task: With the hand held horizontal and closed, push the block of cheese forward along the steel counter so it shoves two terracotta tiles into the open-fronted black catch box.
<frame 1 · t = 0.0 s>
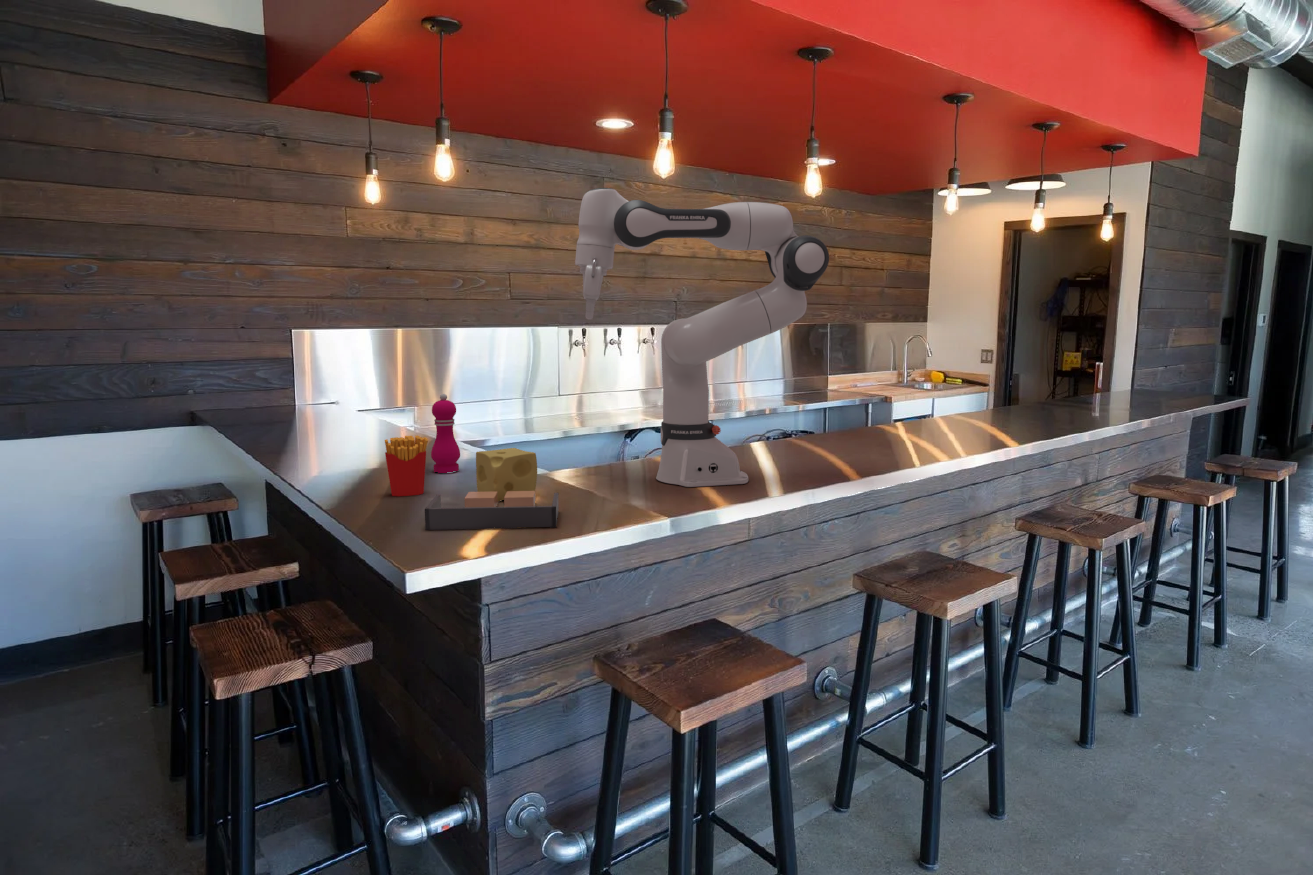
hand: (589, 319, 187), 39 cm above the table, tool pointing down, fingers open, 8 cm apart
pepper mill: (446, 472, 204), on the table
french fries: (408, 494, 179), on the table
tile 1: (481, 508, 167), on the table
tile 2: (520, 508, 167), on the table
catch box: (494, 520, 156), on the table
cheese: (506, 496, 178), on the table
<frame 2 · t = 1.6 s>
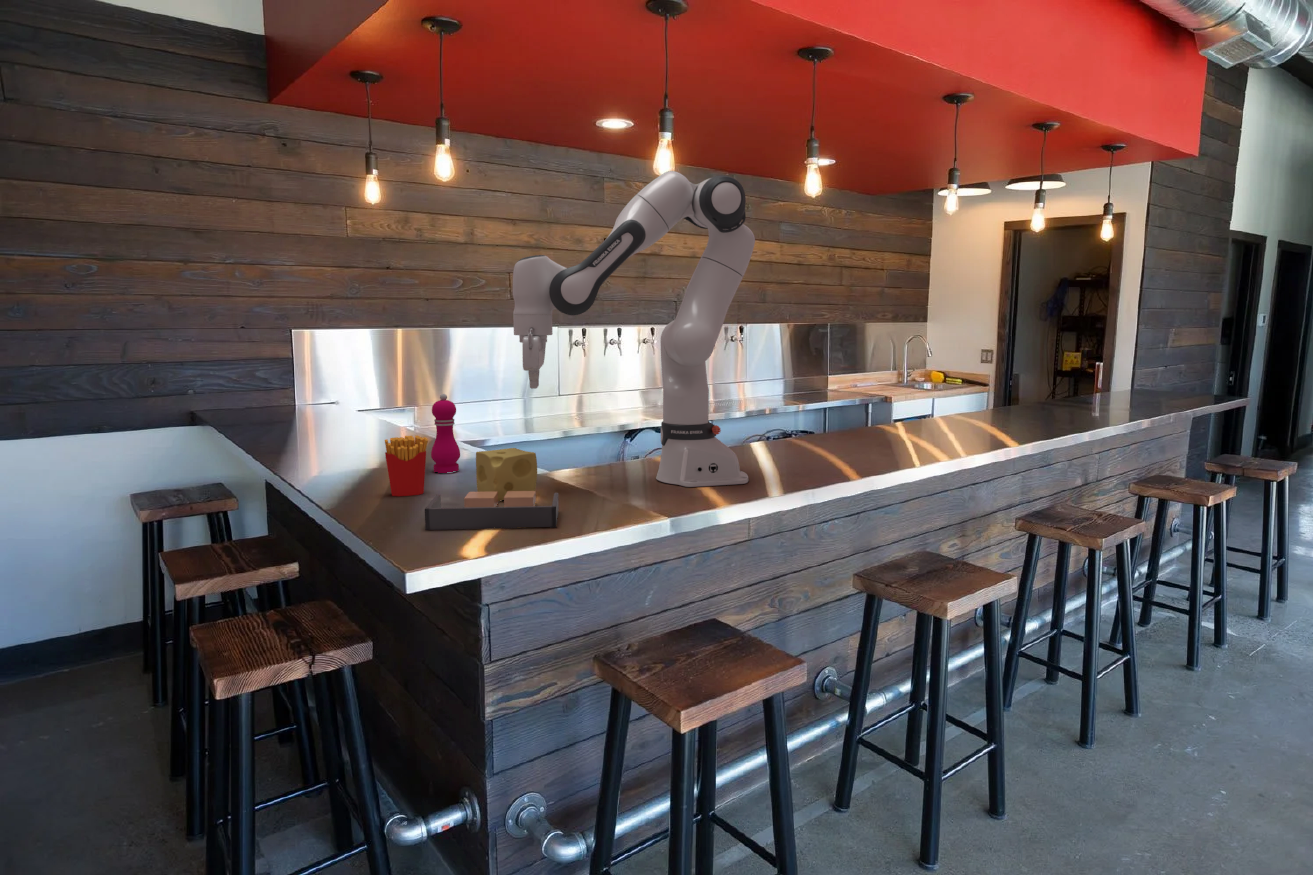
hand: (534, 387, 184), 23 cm above the table, tool pointing down, fingers closed
nothing on the table moved.
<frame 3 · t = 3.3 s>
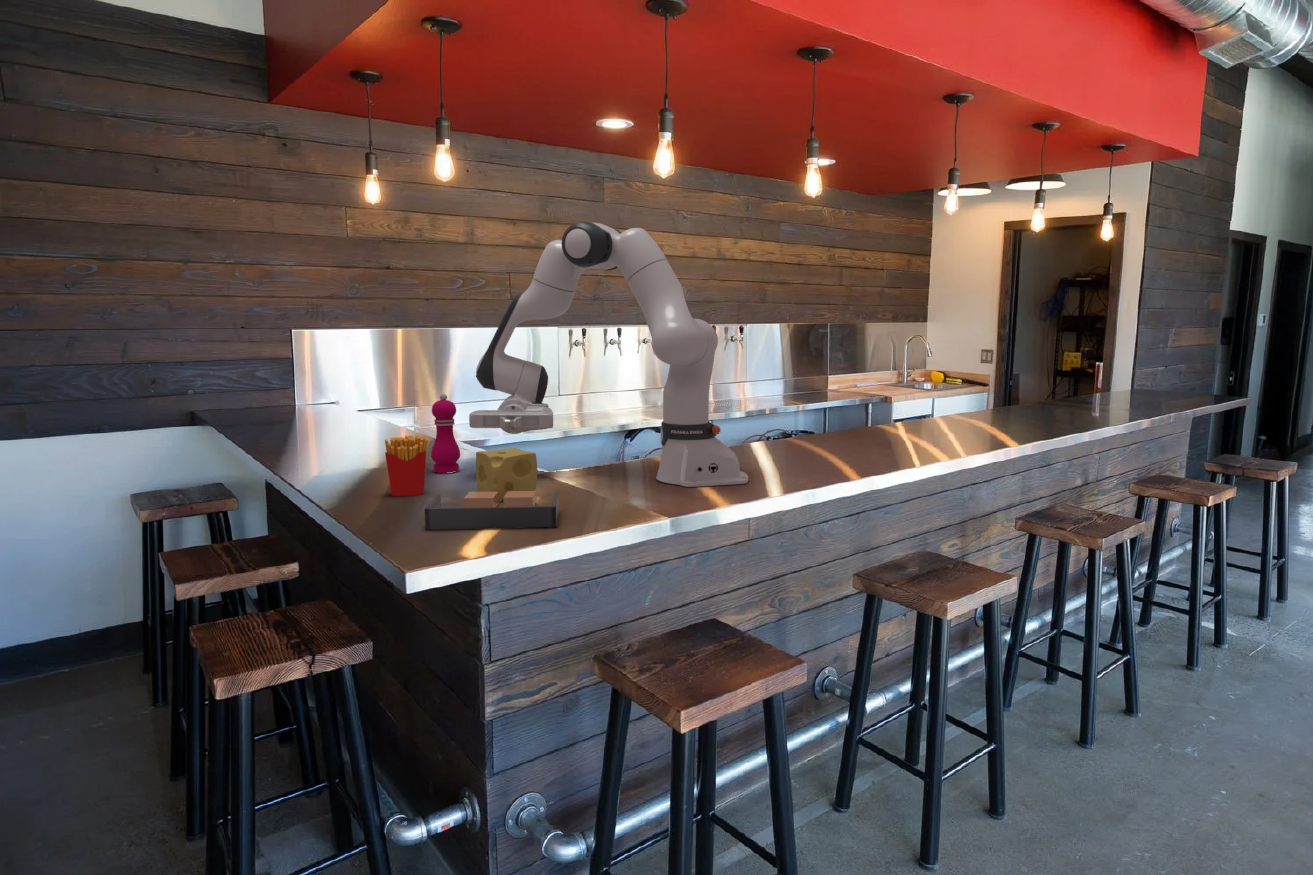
hand: (509, 424, 187), 14 cm above the table, tool horizontal, fingers closed
nothing on the table moved.
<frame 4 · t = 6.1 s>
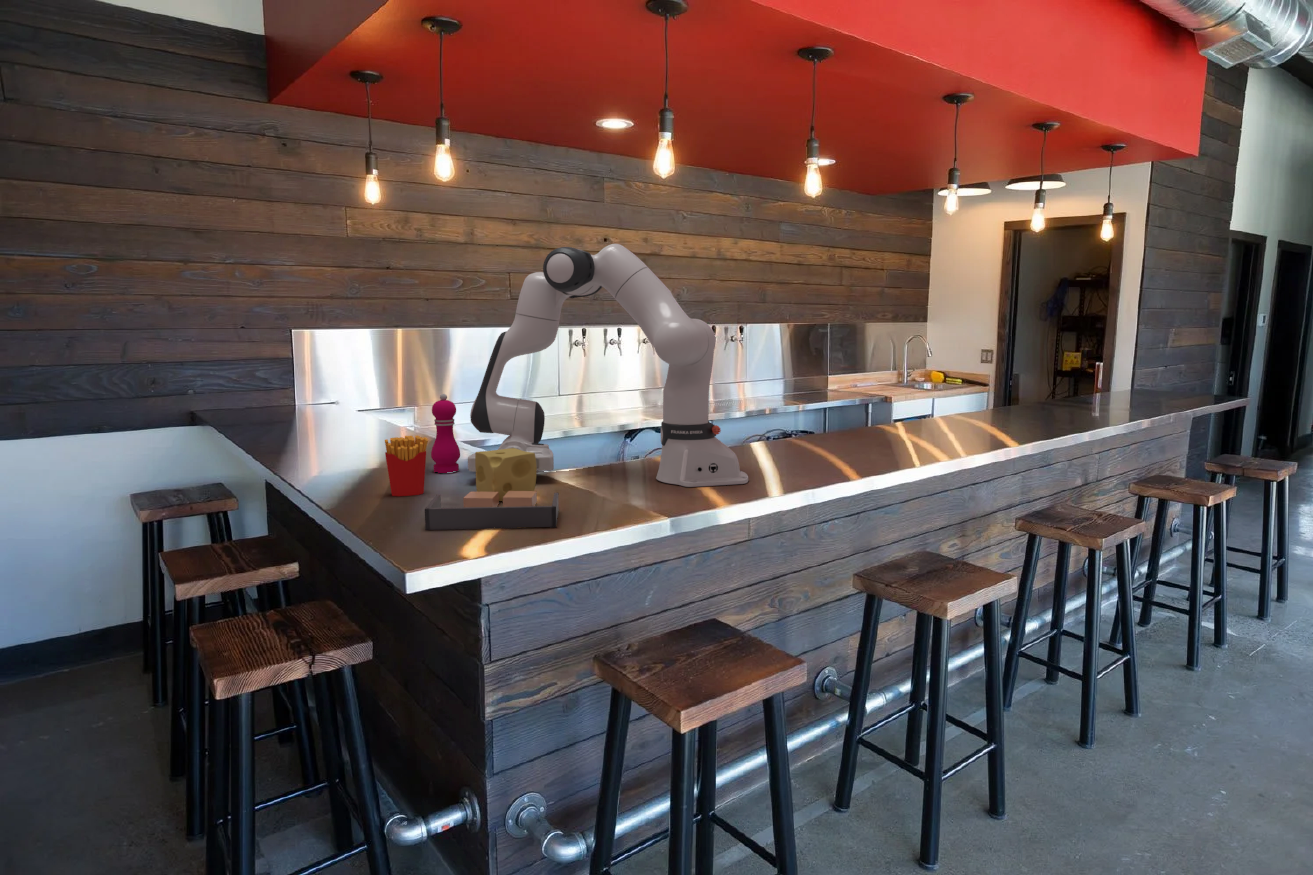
hand: (508, 468, 183), 5 cm above the table, tool horizontal, fingers closed
cheese: (505, 496, 177), on the table, touching gripper
everything else where it was.
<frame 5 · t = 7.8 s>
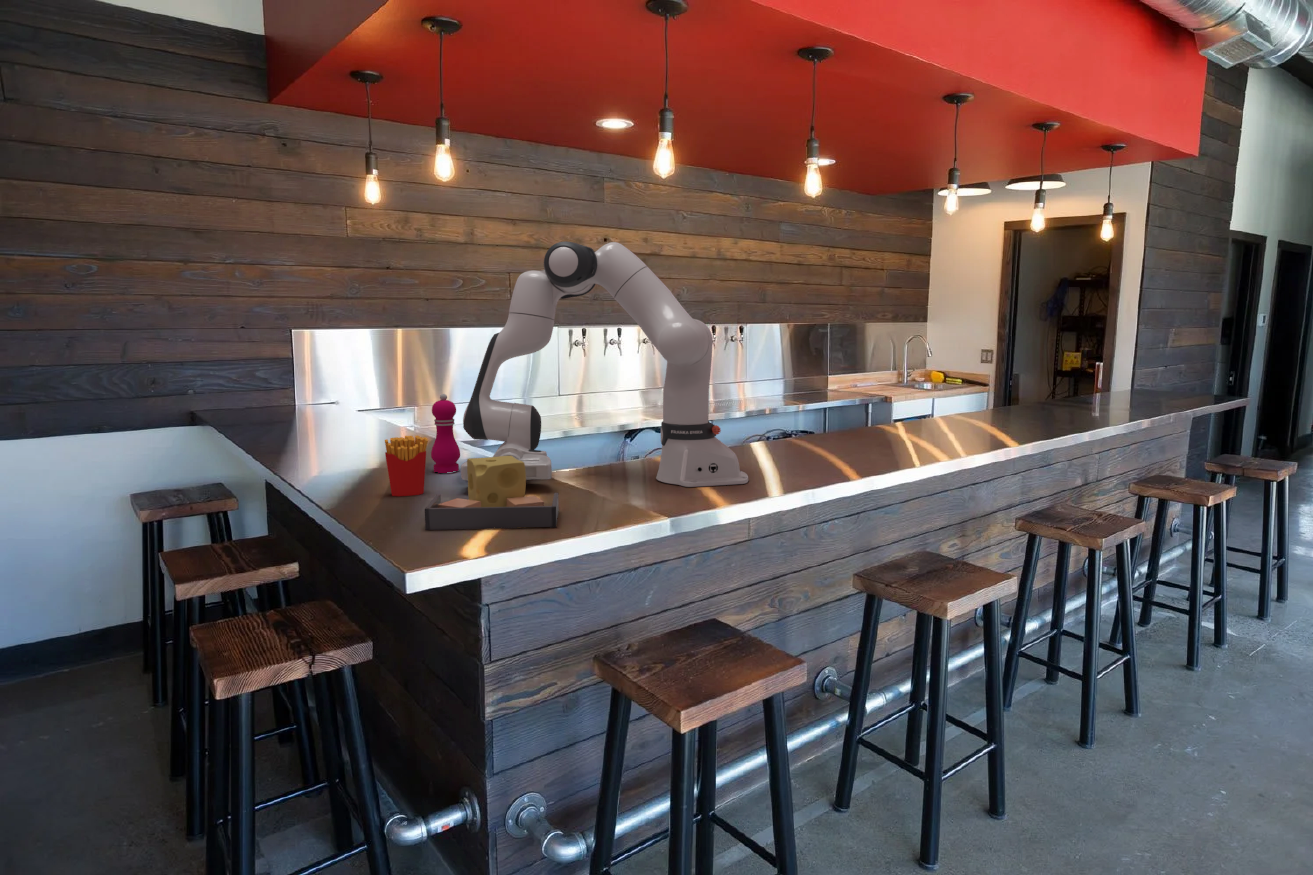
hand: (503, 476, 173), 5 cm above the table, tool horizontal, fingers closed
tile 1: (459, 517, 159), on the table
tile 2: (525, 514, 162), on the table
cheese: (496, 507, 167), on the table, touching gripper
everything else where it was.
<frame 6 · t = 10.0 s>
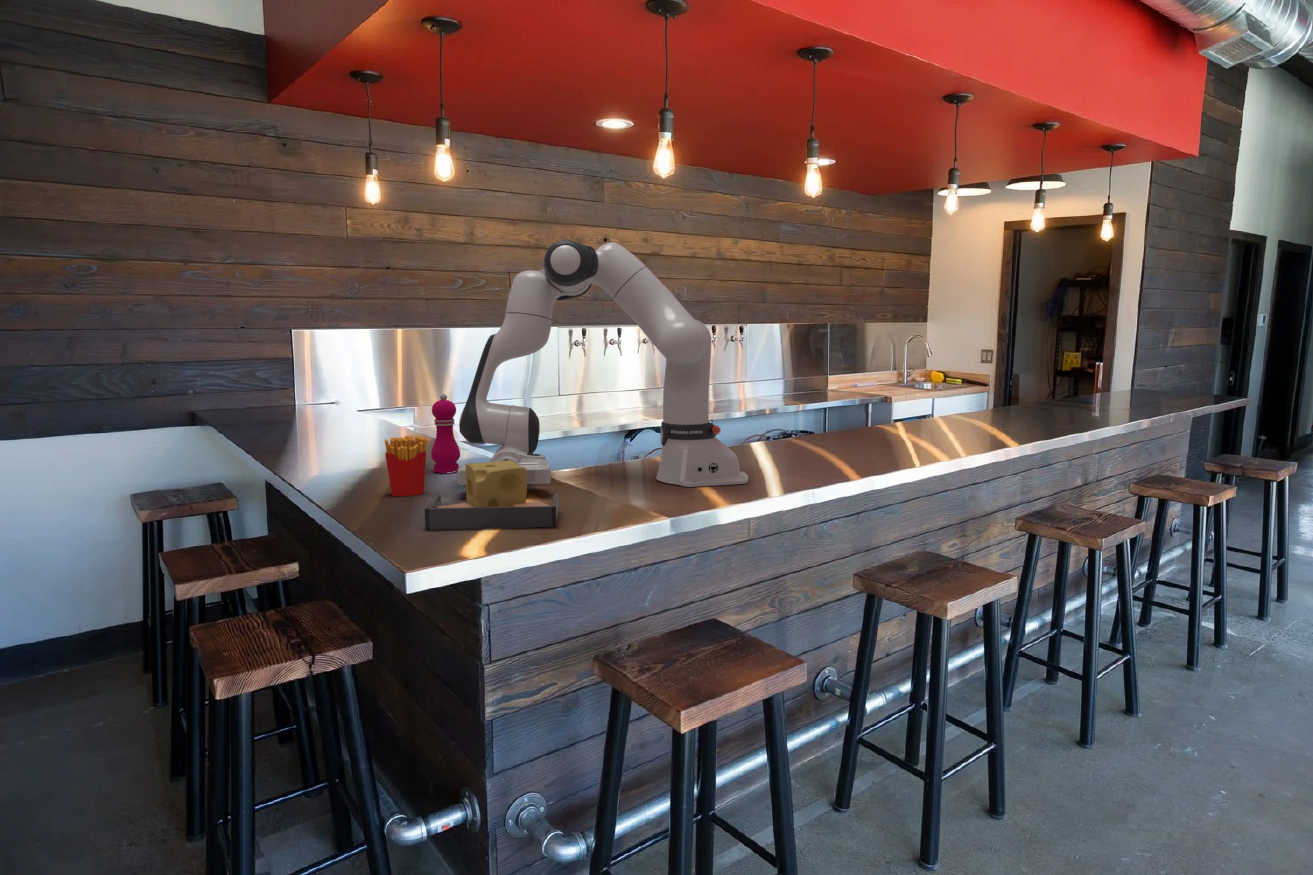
hand: (501, 481, 168), 5 cm above the table, tool horizontal, fingers closed
tile 1: (457, 522, 156), on the table
tile 2: (532, 520, 157), on the table
cheese: (496, 513, 163), on the table, touching gripper
everything else where it was.
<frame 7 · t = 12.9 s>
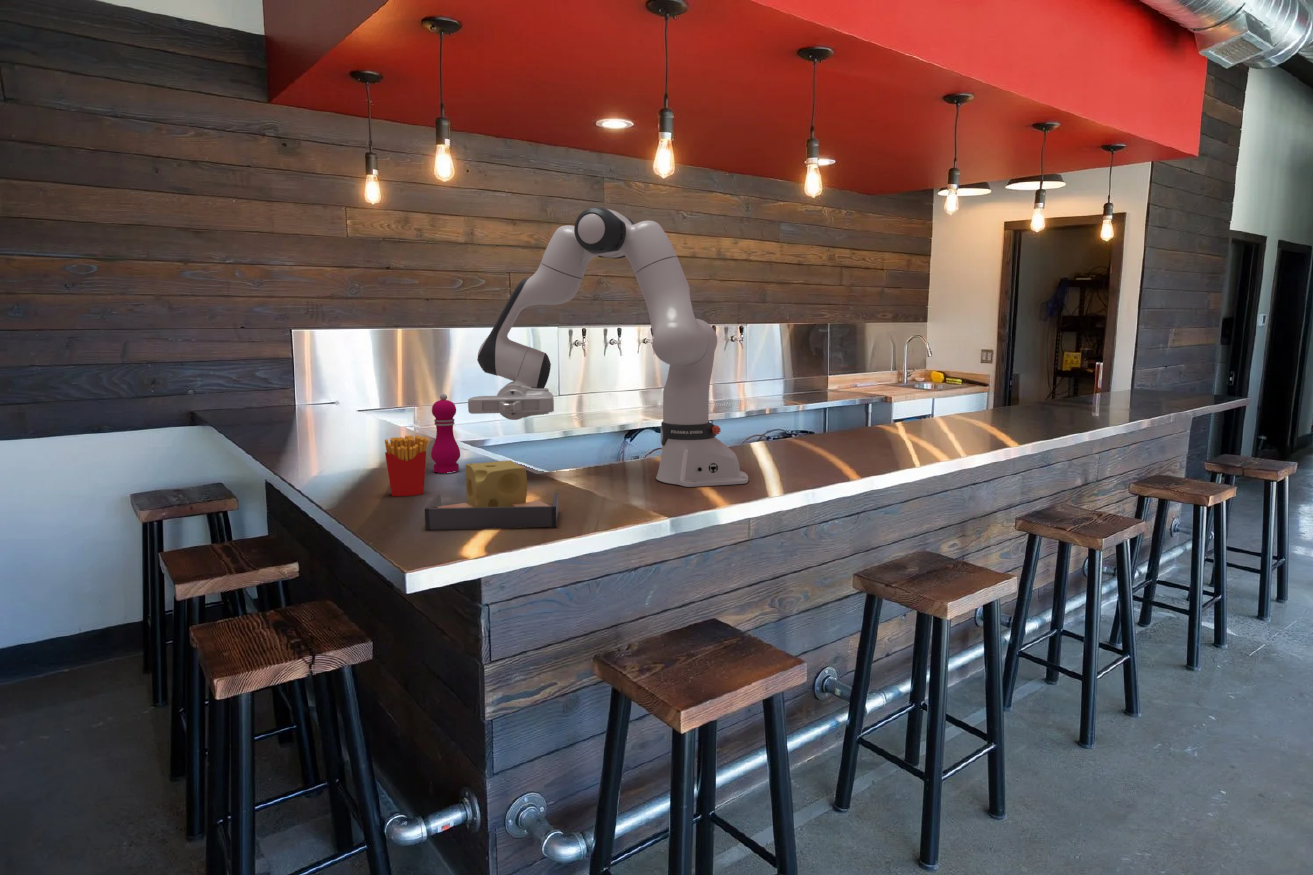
hand: (508, 407, 183), 19 cm above the table, tool horizontal, fingers closed
cheese: (496, 513, 163), on the table
everything else where it was.
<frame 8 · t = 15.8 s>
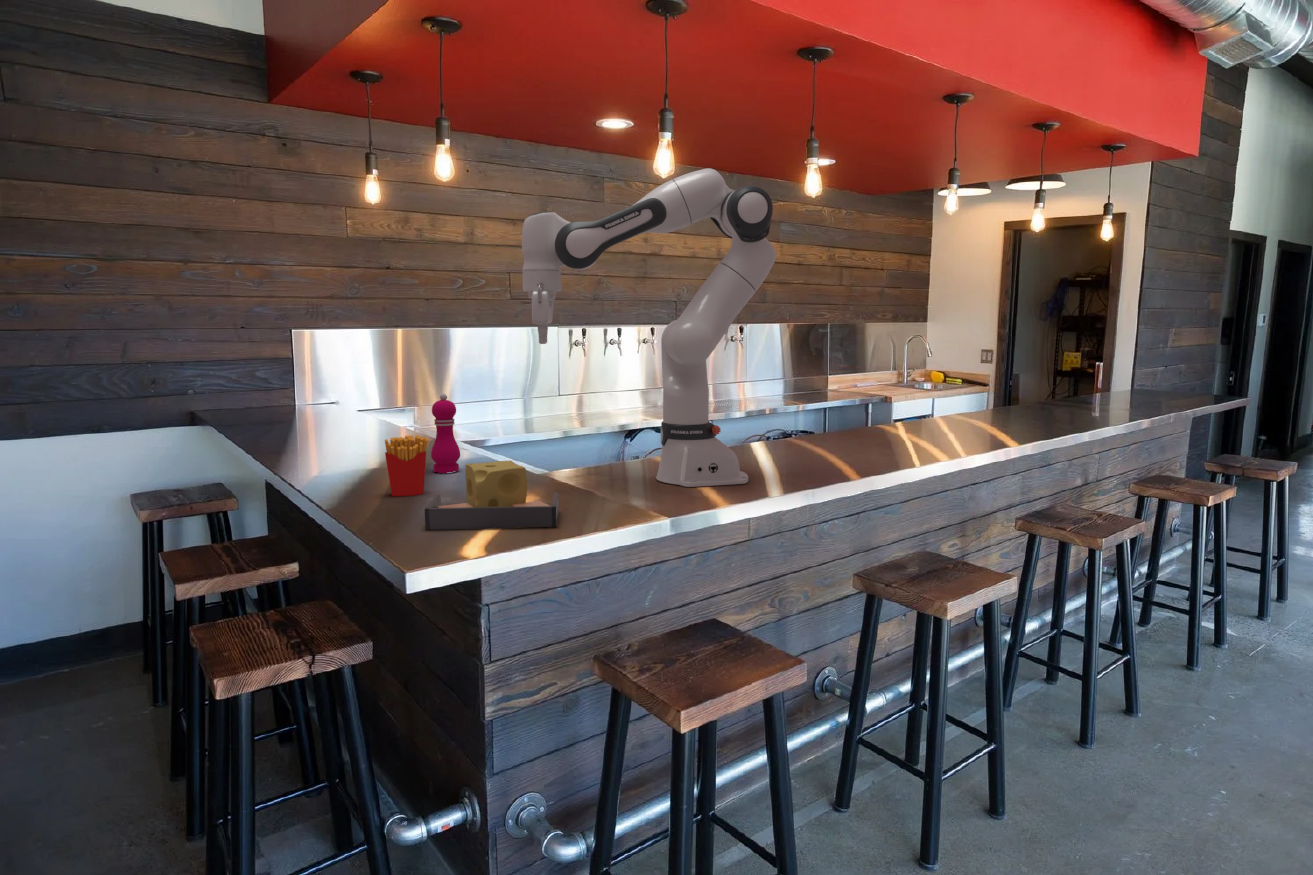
hand: (543, 343, 187), 33 cm above the table, tool pointing down, fingers closed
nothing on the table moved.
at the end: tile 2 inside the target area (7.2 cm from its centre), on the table; tile 1 inside the target area (7.2 cm from its centre), on the table; cheese moved 15.4 cm from its start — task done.
